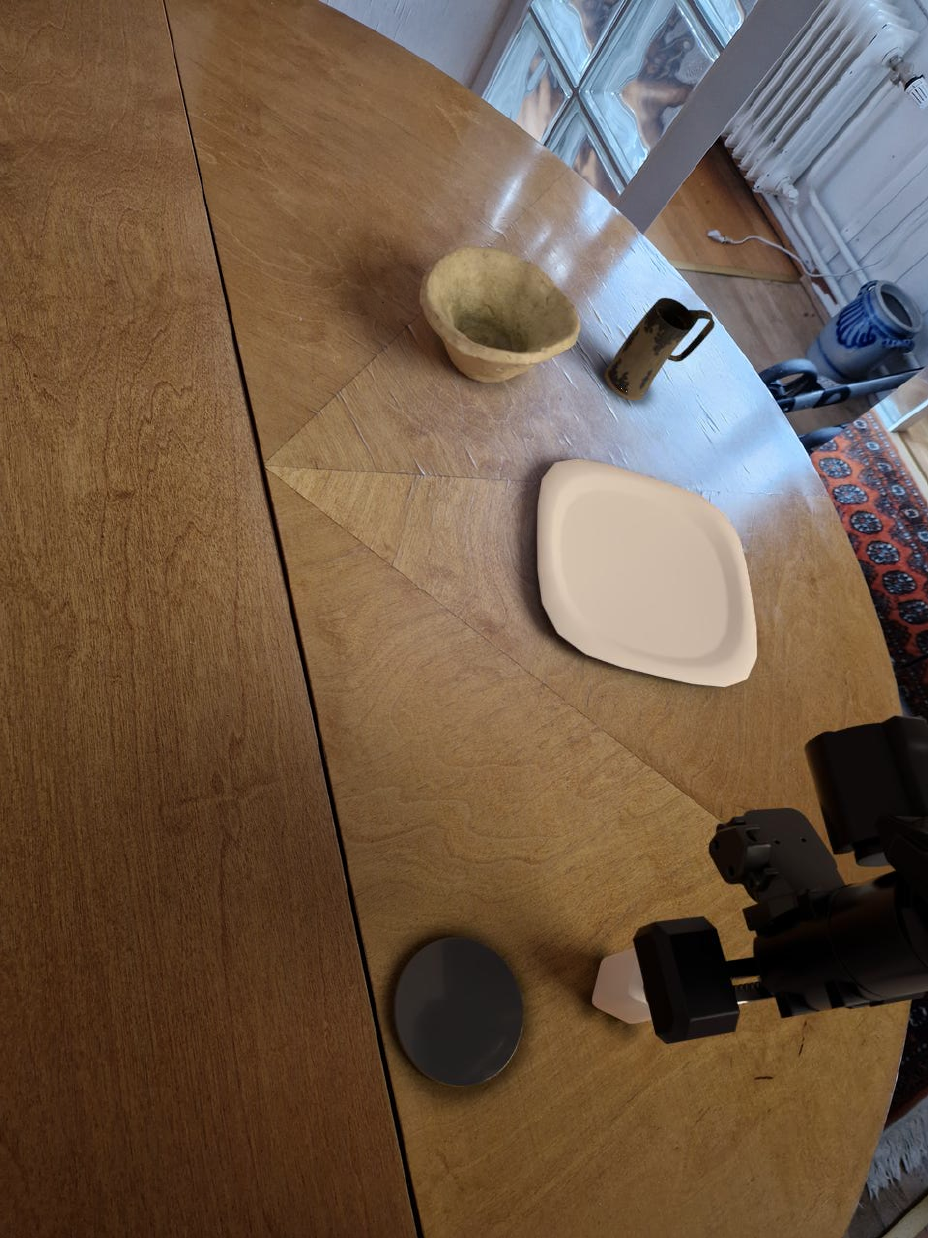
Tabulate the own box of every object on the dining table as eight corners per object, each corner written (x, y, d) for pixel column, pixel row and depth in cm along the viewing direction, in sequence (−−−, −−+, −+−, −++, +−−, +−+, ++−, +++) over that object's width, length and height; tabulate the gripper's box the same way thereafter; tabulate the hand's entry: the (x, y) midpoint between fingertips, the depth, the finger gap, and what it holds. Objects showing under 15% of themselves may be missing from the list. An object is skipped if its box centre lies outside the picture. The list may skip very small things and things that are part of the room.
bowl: (474, 435, 100) (403, 356, 89) (474, 315, 108) (409, 228, 97) (589, 396, 94) (529, 305, 83) (581, 271, 102) (525, 172, 90)
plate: (530, 654, 83) (538, 646, 82) (531, 450, 96) (538, 440, 95) (758, 707, 90) (769, 700, 89) (730, 510, 103) (739, 501, 102)
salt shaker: (587, 1005, 69) (652, 988, 61) (599, 955, 71) (663, 933, 63) (631, 1027, 69) (701, 1013, 61) (642, 977, 71) (711, 957, 64)
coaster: (539, 1060, 65) (542, 1059, 65) (415, 1108, 61) (417, 1108, 60) (496, 923, 69) (498, 921, 69) (376, 959, 65) (378, 957, 64)
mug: (607, 395, 105) (662, 319, 96) (600, 360, 108) (652, 283, 98) (664, 407, 108) (723, 334, 99) (656, 373, 111) (712, 299, 101)
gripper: (938, 786, 54) (775, 855, 67) (686, 799, 47) (556, 874, 60) (1019, 979, 49) (826, 1015, 62) (750, 1029, 42) (594, 1058, 54)
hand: (704, 985), depth 59 cm, fingers open, 9 cm apart
